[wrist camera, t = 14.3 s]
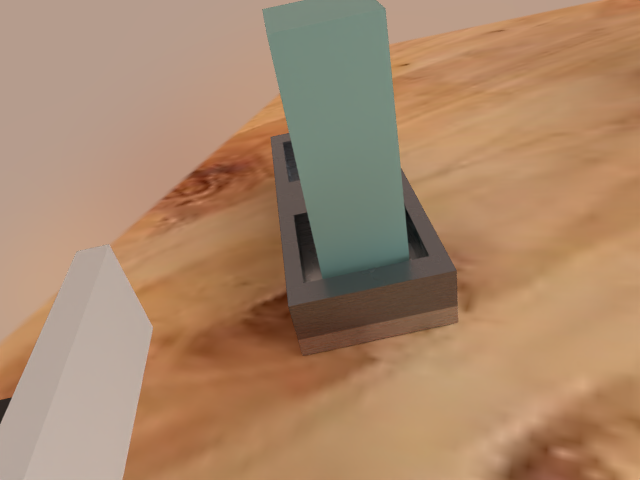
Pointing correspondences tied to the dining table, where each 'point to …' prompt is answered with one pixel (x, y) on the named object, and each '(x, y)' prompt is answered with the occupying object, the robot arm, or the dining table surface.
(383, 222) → the sage green upright block
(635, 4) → the dining table surface
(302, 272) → the compartment tray
